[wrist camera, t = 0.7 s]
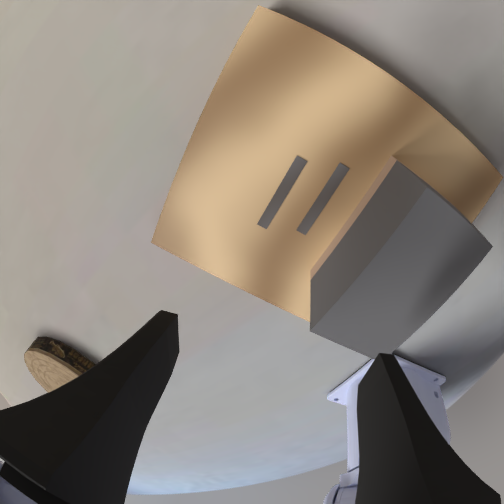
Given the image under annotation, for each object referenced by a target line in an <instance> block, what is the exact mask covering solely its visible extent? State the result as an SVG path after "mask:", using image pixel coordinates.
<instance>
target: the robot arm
mask: <svg viewBox="0 0 504 504" xmlns="http://www.w3.org/2000/svg"><path fill="white" fill-rule="evenodd" d="M178 354H179V336H178V314H174V313H170V312H167V311H163V310H161V311H159V312H158V313H157V314H156V315H155V316H154V317H153V318H152V319H150V320H149V321H148V322H147V323H146V324H145V325H144V326H143V327H142V328H141V329H139V330H138V331H137V332H136V333H135V334H134V335H133V336H132V337H130V338H129V339H128V340H127V341H126V342H124V343H123V344H122V345H121V346H120V347H118V348H117V349H116V350H115V351H113V352H112V353H111V354H109V355H108V356H107V357H106V358H104V359H103V360H102V361H100V362H99V363H98V364H96V365H95V366H93V367H92V368H90V369H89V370H87V371H86V372H84V373H83V374H81V375H80V376H78V377H76V378H75V379H73V380H71V381H69V382H68V383H66V384H64V385H62V386H61V387H59V388H57V389H55V390H53V391H51V392H49V393H46V394H44V395H42V396H39V397H37V398H35V399H32V400H30V401H28V402H25V403H22V404H19V405H16V406H13V407H10V408H7V409H3V410H0V458H1V459H3V460H4V461H5V462H4V463H3V462H2V461H0V504H124V502H125V497H126V493H127V489H128V485H129V481H130V477H131V474H132V470H133V467H134V463H135V460H136V457H137V453H138V450H139V447H140V444H141V441H142V438H143V435H144V432H145V430H146V427H147V425H148V423H149V421H150V418H151V416H152V414H153V412H154V410H155V408H156V406H157V404H158V402H159V400H160V398H161V396H162V394H163V392H164V389H165V387H166V385H167V383H168V381H169V379H170V377H171V375H172V372H173V369H174V366H175V363H176V360H177V357H178ZM445 381H446V378H445V376H442V375H440V374H437V373H435V372H433V371H430V370H428V369H426V368H423V367H421V366H419V365H417V364H414V363H412V362H410V361H407V360H405V359H403V358H400V357H398V356H396V355H394V354H386V353H379V354H378V355H377V357H376V358H375V359H372V360H370V361H369V362H368V363H367V364H366V365H364V366H363V367H362V368H361V369H360V370H358V371H357V372H356V373H355V374H353V375H352V376H351V377H350V378H348V379H347V380H346V381H344V382H343V383H342V384H341V385H339V386H338V387H337V388H335V389H334V390H333V391H331V392H330V393H329V394H328V395H327V399H328V400H330V401H333V402H336V403H339V404H342V405H346V406H347V441H348V459H347V461H348V462H347V463H348V464H347V465H348V466H347V473H345V474H340V484H336V485H335V486H333V487H332V488H331V490H330V491H329V493H328V494H327V495H326V497H325V499H324V501H323V504H501V498H500V494H498V493H497V492H496V491H494V490H493V489H492V488H491V487H490V486H488V485H487V484H485V483H484V482H483V481H482V480H481V479H480V478H479V477H478V476H477V475H476V474H475V473H474V472H473V471H472V470H471V469H470V468H469V467H468V466H467V465H466V464H465V463H464V462H463V461H462V460H461V458H460V457H459V456H458V455H457V454H456V453H455V452H454V450H453V449H452V448H451V446H450V439H451V433H450V427H449V423H448V418H447V414H446V409H445V405H444V401H443V397H442V393H441V389H440V386H441V385H442V384H443V383H445Z"/></svg>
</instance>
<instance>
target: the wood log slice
mask: <svg viewBox="0 0 504 504" xmlns="http://www.w3.org/2000/svg"><path fill="white" fill-rule="evenodd" d="M24 360H25V363H26V365H27V367H28V369H29V371H30V372H31V374H32V375H33V376H34V378H35V379H36V381H37V382H38V383H39V384H40V385H41V386H42V387H43V388H44V389H45V390H46V391H47V392H48V393H49V392H51V391H53V390H55V389H57V388H59V387H61V386H62V385H64V384H66V383H68V382H69V381H71V380H73V379H75V378H76V377H78V376H80V375H81V374H83V373H84V372H86V371H87V370H89V369H90V368H92V367H93V366H95V364H94V363H93V362H92V361H90V360H89V359H87V358H86V357H84V356H83V355H82V354H80V353H79V352H77V351H76V350H74V349H72V348H71V347H69V346H67V345H65V344H64V343H62V342H60V341H57V340H54V339H51V338H49V337H38V338H37V339H36V340H35V341H34V342H33V343H32V345H31V346H30V347H29V348H28V350H27V351H26V352H25V354H24Z"/></svg>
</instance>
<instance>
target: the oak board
mask: <svg viewBox="0 0 504 504" xmlns="http://www.w3.org/2000/svg"><path fill="white" fill-rule="evenodd" d="M391 156H393V157H394V158H396V159H397V160H398V161H400V162H401V163H402V164H404V165H405V166H406V167H408V168H409V169H410V170H412V171H413V172H414V173H416V174H417V175H418V176H419V177H421V178H422V179H423V180H424V181H426V182H427V183H428V184H429V185H431V186H432V187H433V188H434V189H435V190H437V191H438V192H439V193H440V194H441V195H443V196H444V197H445V198H446V199H447V200H448V201H450V202H451V203H452V204H453V205H454V206H455V207H456V208H457V209H458V210H459V211H460V212H461V213H462V214H463V215H464V216H465V217H466V218H467V219H468V220H469V221H470V222H471V223H472V222H473V221H474V220H475V218H476V217H477V215H478V214H479V213H480V211H481V210H482V208H483V207H484V206H485V204H486V203H487V201H488V200H489V198H490V197H491V195H492V194H493V192H494V191H495V189H496V188H497V186H498V185H499V183H500V181H501V180H502V178H503V176H502V175H501V174H500V173H499V172H498V171H497V169H496V168H495V167H494V166H493V165H492V164H491V163H490V162H489V161H488V159H487V158H486V157H485V156H484V155H483V154H482V153H481V152H480V151H479V150H478V149H477V148H476V147H475V146H474V145H473V144H472V143H471V142H470V141H469V140H468V139H467V138H466V137H465V136H464V135H463V134H462V133H461V132H460V131H459V130H458V129H457V128H456V127H454V126H453V125H452V124H451V123H450V122H449V121H448V120H447V119H446V118H444V117H443V116H442V115H441V114H440V113H439V112H438V111H436V110H435V109H434V108H433V107H432V106H430V105H429V104H428V103H427V102H426V101H424V100H423V99H422V98H421V97H419V96H418V95H417V94H415V93H414V92H413V91H412V90H410V89H409V88H408V87H406V86H405V85H404V84H402V83H401V82H399V81H398V80H397V79H395V78H394V77H392V76H391V75H390V74H388V73H387V72H385V71H384V70H382V69H381V68H379V67H378V66H376V65H375V64H373V63H372V62H370V61H369V60H367V59H365V58H364V57H362V56H361V55H359V54H357V53H356V52H354V51H352V50H351V49H349V48H347V47H345V46H344V45H342V44H340V43H338V42H337V41H335V40H333V39H331V38H329V37H327V36H326V35H324V34H322V33H320V32H318V31H316V30H314V29H312V28H310V27H308V26H306V25H304V24H301V23H299V22H297V21H295V20H293V19H291V18H288V17H286V16H284V15H281V14H279V13H277V12H274V11H272V10H269V9H267V8H264V7H262V6H259V5H258V7H257V9H256V10H255V12H254V14H253V15H252V17H251V19H250V20H249V22H248V24H247V26H246V27H245V29H244V31H243V33H242V35H241V36H240V38H239V40H238V42H237V44H236V45H235V47H234V49H233V51H232V53H231V55H230V57H229V59H228V61H227V62H226V64H225V66H224V68H223V70H222V72H221V74H220V76H219V78H218V80H217V82H216V84H215V86H214V88H213V90H212V92H211V95H210V97H209V99H208V101H207V103H206V105H205V107H204V109H203V112H202V114H201V116H200V118H199V120H198V123H197V125H196V127H195V129H194V132H193V134H192V136H191V139H190V141H189V143H188V146H187V148H186V150H185V153H184V155H183V158H182V160H181V163H180V165H179V167H178V170H177V173H176V175H175V178H174V180H173V183H172V185H171V188H170V191H169V193H168V196H167V199H166V201H165V204H164V207H163V210H162V212H161V215H160V218H159V221H158V224H157V226H156V229H155V232H154V235H153V238H152V241H151V243H153V244H155V245H157V246H158V247H160V248H162V249H164V250H166V251H168V252H170V253H172V254H174V255H175V256H177V257H179V258H181V259H183V260H185V261H187V262H189V263H191V264H193V265H195V266H197V267H199V268H201V269H203V270H204V271H206V272H208V273H210V274H212V275H214V276H216V277H218V278H220V279H222V280H224V281H226V282H228V283H230V284H232V285H234V286H236V287H238V288H240V289H242V290H244V291H246V292H248V293H250V294H252V295H254V296H256V297H258V298H261V299H263V300H265V301H267V302H269V303H271V304H273V305H275V306H277V307H279V308H281V309H283V310H285V311H288V312H290V313H292V314H294V315H296V316H298V317H300V318H302V319H304V320H307V321H309V322H310V270H311V269H312V267H313V266H314V265H315V263H316V262H317V261H318V259H319V258H320V257H321V255H322V254H323V253H324V251H325V250H326V249H327V247H328V246H329V244H330V243H331V242H332V240H333V239H334V238H335V236H336V235H337V234H338V232H339V231H340V229H341V228H342V227H343V225H344V224H345V222H346V221H347V220H348V218H349V217H350V215H351V214H352V213H353V211H354V210H355V208H356V207H357V205H358V204H359V203H360V201H361V200H362V198H363V197H364V195H365V194H366V192H367V191H368V189H369V188H370V187H371V185H372V184H373V182H374V181H375V179H376V178H377V176H378V175H379V173H380V172H381V170H382V169H383V167H384V166H385V164H386V163H387V161H388V160H389V158H390V157H391Z"/></svg>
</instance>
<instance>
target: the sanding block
mask: <svg viewBox="0 0 504 504" xmlns="http://www.w3.org/2000/svg"><path fill="white" fill-rule="evenodd" d="M492 247H493V246H492V245H491V244H490V243H489V242H488V240H487V239H486V238H485V237H484V236H483V235H482V234H481V233H480V232H479V231H478V230H477V229H476V227H475V226H474V225H473V224H472V223H471V222H470V221H469V220H468V219H467V218H466V217H465V216H464V215H463V214H462V213H461V212H460V211H459V210H458V209H457V208H456V207H455V206H454V205H453V204H452V203H451V202H450V201H448V200H447V199H446V198H445V197H444V196H443V195H441V194H440V193H439V192H438V191H437V190H435V189H434V188H433V187H432V186H431V185H429V184H428V183H427V182H426V181H424V180H423V179H422V178H421V177H419V176H418V175H417V174H416V173H414V172H413V171H412V170H410V169H409V168H408V167H406V166H405V165H404V164H402V163H401V162H400V161H398V160H397V159H396V158H394V157H393V156H391V157H390V158H389V160H388V161H387V163H386V164H385V166H384V167H383V169H382V170H381V172H380V173H379V175H378V176H377V178H376V179H375V181H374V182H373V184H372V185H371V187H370V188H369V189H368V191H367V192H366V194H365V195H364V197H363V198H362V200H361V201H360V203H359V204H358V205H357V207H356V208H355V210H354V211H353V213H352V214H351V215H350V217H349V218H348V220H347V221H346V222H345V224H344V225H343V227H342V228H341V229H340V231H339V232H338V234H337V235H336V236H335V238H334V239H333V240H332V242H331V243H330V244H329V246H328V247H327V249H326V250H325V251H324V253H323V254H322V255H321V257H320V258H319V259H318V261H317V262H316V263H315V265H314V266H313V267H312V269H311V270H310V331H311V332H313V333H315V334H317V335H320V336H322V337H324V338H326V339H329V340H331V341H333V342H335V343H338V344H340V345H342V346H344V347H347V348H349V349H351V350H354V351H356V352H358V353H361V354H363V355H365V356H368V357H370V358H373V359H375V358H376V357H377V355H378V354H379V353H386V354H391V353H392V352H393V351H394V350H396V349H397V348H398V347H399V346H400V345H401V344H402V343H403V342H405V341H406V340H407V339H408V338H409V337H410V336H411V335H412V334H413V333H414V332H415V331H416V330H418V329H419V328H420V327H421V326H422V325H423V324H424V323H425V322H426V321H427V320H428V319H429V318H430V317H431V316H432V315H433V314H434V313H435V312H436V311H437V310H438V309H439V308H440V307H441V306H442V305H443V304H444V303H445V302H446V301H447V299H448V298H449V297H450V296H451V295H452V294H453V293H454V292H455V291H456V290H457V289H458V288H459V286H460V285H461V284H462V283H463V282H464V281H465V280H466V279H467V277H468V276H469V275H470V274H471V273H472V272H473V270H474V269H475V268H476V267H477V266H478V264H479V263H480V262H481V261H482V260H483V258H484V257H485V256H486V255H487V253H488V252H489V251H490V249H491V248H492Z"/></svg>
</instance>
